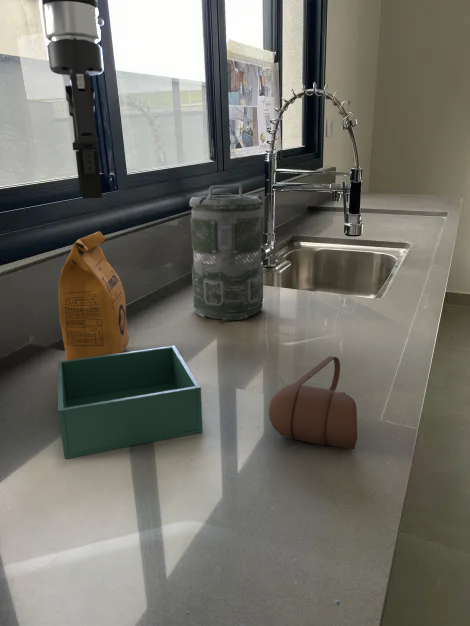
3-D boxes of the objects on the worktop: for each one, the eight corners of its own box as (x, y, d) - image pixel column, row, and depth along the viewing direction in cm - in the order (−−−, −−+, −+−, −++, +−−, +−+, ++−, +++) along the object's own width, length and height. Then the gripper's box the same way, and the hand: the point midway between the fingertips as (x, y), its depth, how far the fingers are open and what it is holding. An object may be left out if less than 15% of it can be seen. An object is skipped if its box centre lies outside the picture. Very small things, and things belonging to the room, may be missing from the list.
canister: (244, 297, 124) (242, 181, 115) (275, 315, 110) (277, 185, 101) (184, 306, 117) (178, 184, 108) (209, 326, 104) (205, 189, 95)
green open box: (64, 459, 60) (57, 411, 58) (62, 402, 73) (57, 361, 71) (202, 432, 65) (200, 387, 63) (176, 383, 79) (174, 345, 76)
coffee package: (138, 346, 93) (128, 230, 87) (115, 375, 82) (101, 242, 75) (87, 345, 95) (74, 229, 88) (57, 372, 83) (39, 242, 76)
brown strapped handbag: (354, 464, 58) (358, 412, 56) (260, 444, 62) (260, 394, 60) (375, 396, 73) (379, 353, 71) (299, 383, 78) (300, 342, 76)
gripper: (108, 24, 61) (122, 200, 68) (96, 58, 84) (108, 188, 90) (43, 20, 59) (65, 202, 65) (49, 57, 81) (64, 189, 88)
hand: (90, 194), depth 78 cm, fingers open, 13 cm apart
